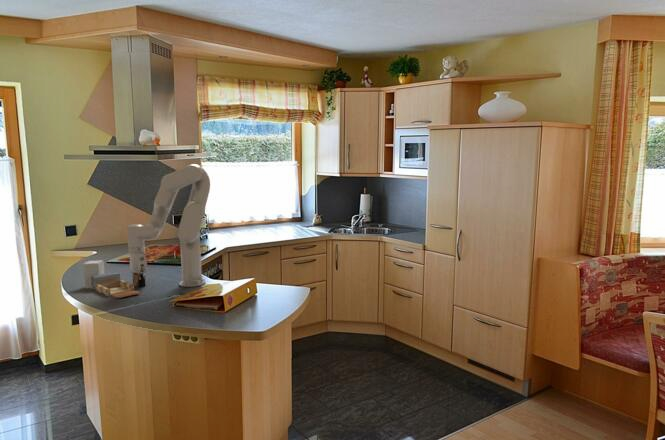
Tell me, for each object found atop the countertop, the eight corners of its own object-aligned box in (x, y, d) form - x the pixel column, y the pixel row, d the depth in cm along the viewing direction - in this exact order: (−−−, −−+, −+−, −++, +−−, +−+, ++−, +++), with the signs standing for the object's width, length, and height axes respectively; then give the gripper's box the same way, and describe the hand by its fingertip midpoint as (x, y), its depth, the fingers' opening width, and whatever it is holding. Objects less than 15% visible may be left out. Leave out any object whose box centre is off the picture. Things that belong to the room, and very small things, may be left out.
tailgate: (132, 292, 236) (140, 293, 230) (111, 296, 229) (118, 297, 223) (131, 290, 236) (139, 291, 230) (110, 294, 229) (118, 295, 223)
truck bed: (134, 292, 237) (133, 278, 236) (108, 298, 229) (107, 283, 228) (116, 285, 252) (115, 271, 251) (91, 290, 243) (90, 276, 242)
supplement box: (106, 284, 254) (104, 260, 253) (99, 288, 247) (97, 263, 245) (91, 284, 254) (89, 260, 252) (84, 288, 247) (82, 263, 245)
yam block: (145, 287, 247) (144, 273, 246) (137, 289, 244) (136, 275, 243) (141, 286, 250) (140, 272, 249) (133, 287, 247) (132, 273, 246)
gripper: (152, 250, 241) (154, 287, 243) (136, 246, 253) (139, 281, 255) (136, 253, 236) (139, 290, 238) (121, 248, 248) (124, 284, 250)
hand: (139, 285), depth 247 cm, fingers open, 5 cm apart
